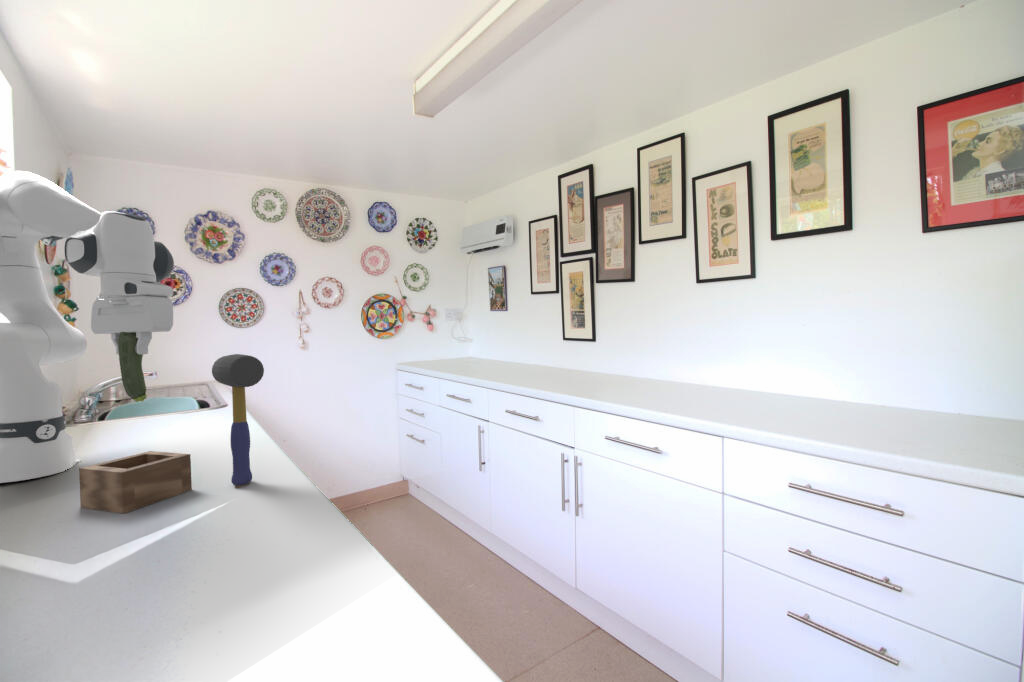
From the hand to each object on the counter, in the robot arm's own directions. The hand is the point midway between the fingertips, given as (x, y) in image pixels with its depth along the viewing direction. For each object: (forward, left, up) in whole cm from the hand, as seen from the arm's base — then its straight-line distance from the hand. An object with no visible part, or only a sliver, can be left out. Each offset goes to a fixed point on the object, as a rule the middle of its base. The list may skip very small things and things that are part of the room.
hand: (132, 354), depth 91 cm
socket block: (0, 0, -31) cm, 31 cm away
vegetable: (0, 0, -10) cm, 10 cm away
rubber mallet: (+16, +11, -31) cm, 36 cm away
